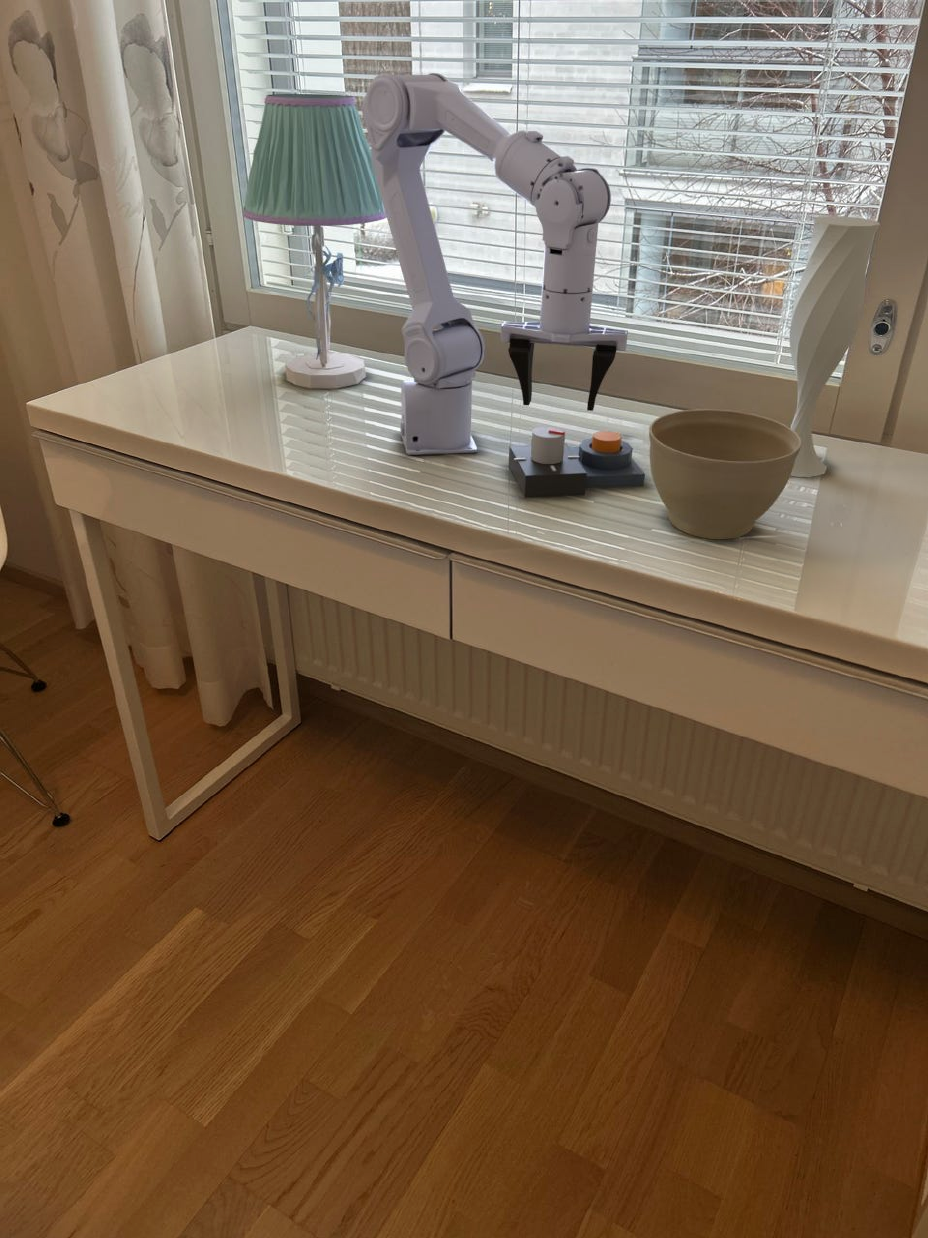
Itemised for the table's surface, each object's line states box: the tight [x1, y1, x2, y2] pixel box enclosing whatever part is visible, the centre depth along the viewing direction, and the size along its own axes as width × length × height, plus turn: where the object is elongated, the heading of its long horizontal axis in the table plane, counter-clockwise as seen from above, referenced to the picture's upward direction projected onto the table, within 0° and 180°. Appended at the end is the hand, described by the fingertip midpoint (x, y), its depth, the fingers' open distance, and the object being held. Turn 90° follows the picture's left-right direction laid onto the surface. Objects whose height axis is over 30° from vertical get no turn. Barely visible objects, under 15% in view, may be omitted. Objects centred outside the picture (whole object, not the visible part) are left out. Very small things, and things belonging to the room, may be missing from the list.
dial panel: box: [507, 442, 587, 499], centre depth 117 cm, size 10×8×3 cm
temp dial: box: [531, 426, 566, 464], centre depth 115 cm, size 4×4×4 cm
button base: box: [569, 437, 646, 489], centre depth 119 cm, size 10×8×4 cm
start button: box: [591, 430, 622, 453], centre depth 118 cm, size 4×4×2 cm
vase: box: [789, 215, 881, 478], centre depth 116 cm, size 9×8×30 cm
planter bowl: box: [648, 408, 801, 540], centre depth 105 cm, size 16×16×11 cm
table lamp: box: [242, 93, 387, 390], centre depth 142 cm, size 22×22×40 cm
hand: (558, 405), depth 113 cm, fingers open, 7 cm apart
